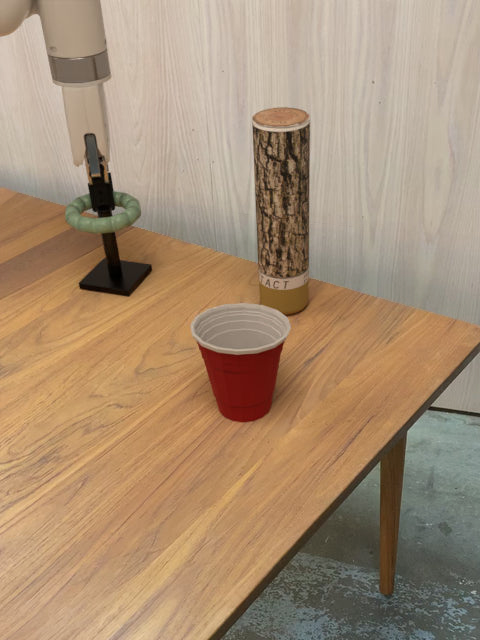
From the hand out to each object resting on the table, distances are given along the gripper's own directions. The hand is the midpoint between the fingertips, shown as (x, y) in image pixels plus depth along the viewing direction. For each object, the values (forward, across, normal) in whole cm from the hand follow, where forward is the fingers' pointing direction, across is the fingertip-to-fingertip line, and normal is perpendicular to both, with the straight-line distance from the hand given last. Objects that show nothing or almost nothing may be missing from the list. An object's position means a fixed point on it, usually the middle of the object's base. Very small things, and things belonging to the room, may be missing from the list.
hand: (103, 204), depth 112 cm
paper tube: (+10, +16, +23) cm, 30 cm away
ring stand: (+10, +4, 0) cm, 11 cm away
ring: (-1, +4, 0) cm, 4 cm away
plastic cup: (+10, +39, +15) cm, 43 cm away
